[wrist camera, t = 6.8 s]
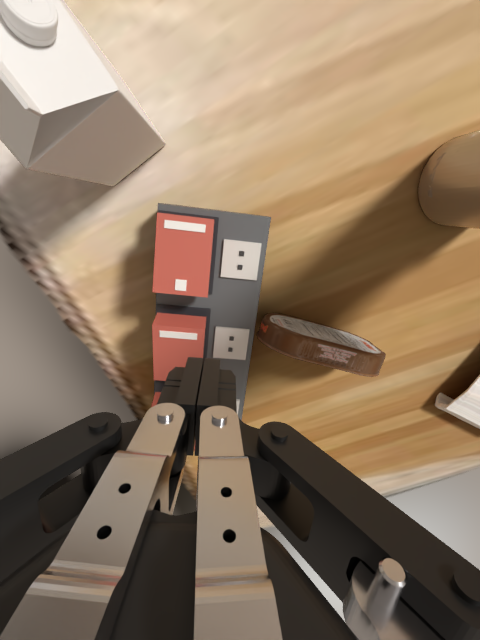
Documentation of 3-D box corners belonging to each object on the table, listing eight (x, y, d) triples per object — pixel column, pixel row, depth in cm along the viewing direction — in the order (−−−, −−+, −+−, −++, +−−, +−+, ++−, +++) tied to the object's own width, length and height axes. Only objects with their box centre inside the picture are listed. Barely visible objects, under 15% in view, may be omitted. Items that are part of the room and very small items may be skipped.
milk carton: (113, 187, 31) (-29, 159, 13) (62, 120, 29) (-193, -20, 11) (167, 144, 30) (89, 52, 12) (118, 72, 28) (-65, -172, 10)
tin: (252, 325, 38) (260, 356, 30) (260, 302, 37) (270, 328, 29) (357, 352, 40) (390, 388, 32) (367, 332, 39) (404, 363, 31)
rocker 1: (214, 223, 29) (214, 219, 26) (208, 295, 30) (207, 297, 27) (161, 217, 28) (156, 212, 26) (157, 290, 29) (152, 292, 27)
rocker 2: (206, 316, 31) (204, 329, 28) (202, 368, 34) (200, 383, 32) (157, 312, 30) (151, 325, 28) (158, 365, 34) (153, 380, 31)
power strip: (265, 216, 33) (271, 217, 29) (236, 419, 43) (238, 444, 38) (165, 203, 32) (156, 203, 28) (159, 415, 42) (152, 440, 37)
